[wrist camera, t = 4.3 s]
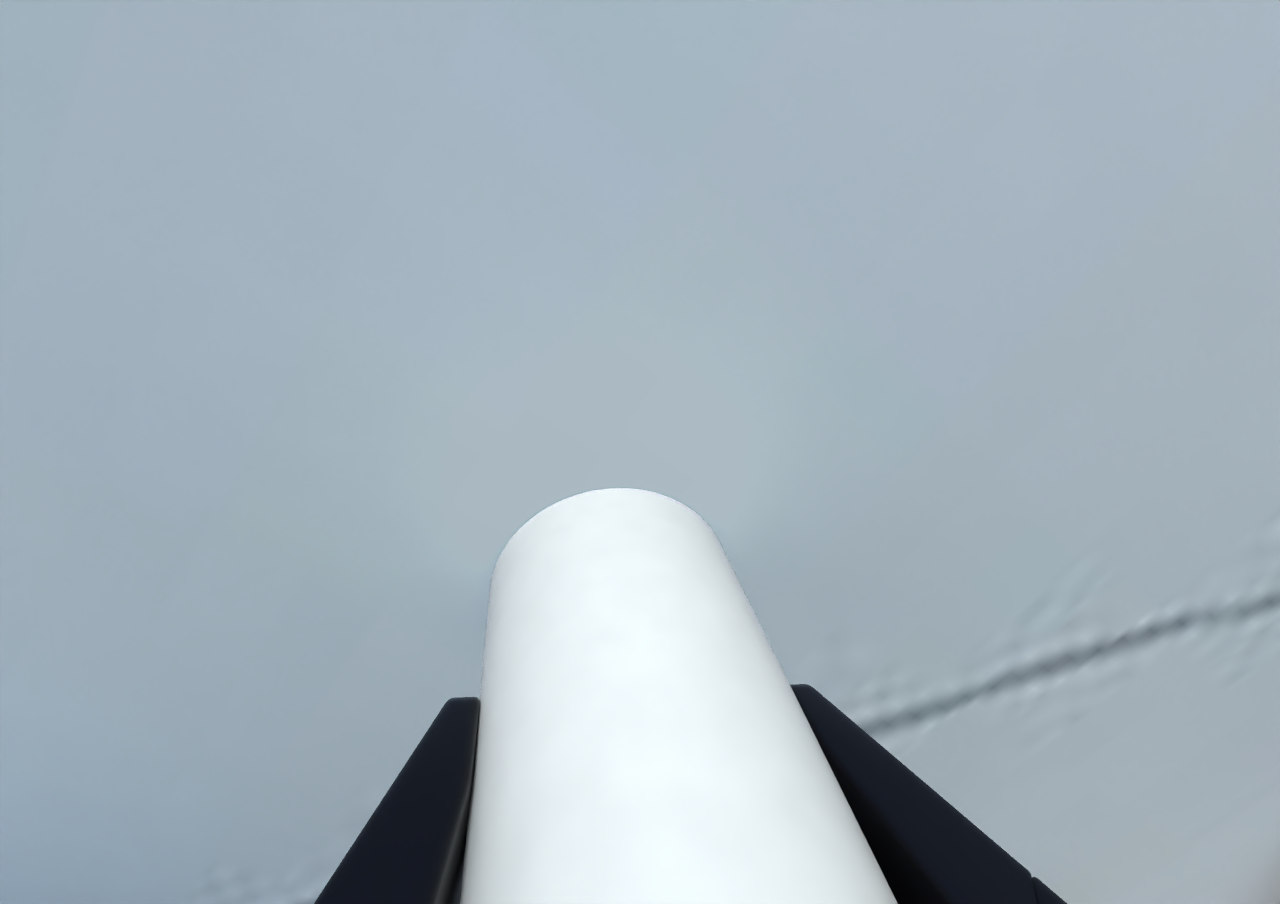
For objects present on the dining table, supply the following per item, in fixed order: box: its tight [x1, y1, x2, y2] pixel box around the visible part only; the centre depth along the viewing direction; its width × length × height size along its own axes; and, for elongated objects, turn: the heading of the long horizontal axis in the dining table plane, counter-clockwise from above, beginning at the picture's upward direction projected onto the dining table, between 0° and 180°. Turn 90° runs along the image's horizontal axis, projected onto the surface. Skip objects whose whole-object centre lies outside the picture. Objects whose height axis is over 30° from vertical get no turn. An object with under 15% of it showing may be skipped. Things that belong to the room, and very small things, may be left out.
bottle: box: [460, 488, 898, 904], centre depth 7 cm, size 4×4×10 cm
